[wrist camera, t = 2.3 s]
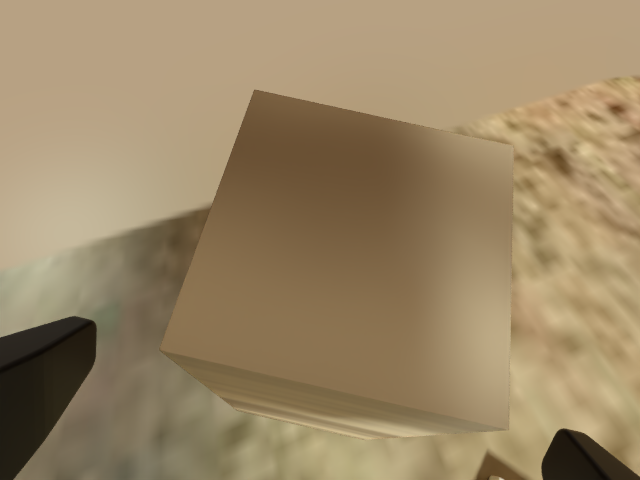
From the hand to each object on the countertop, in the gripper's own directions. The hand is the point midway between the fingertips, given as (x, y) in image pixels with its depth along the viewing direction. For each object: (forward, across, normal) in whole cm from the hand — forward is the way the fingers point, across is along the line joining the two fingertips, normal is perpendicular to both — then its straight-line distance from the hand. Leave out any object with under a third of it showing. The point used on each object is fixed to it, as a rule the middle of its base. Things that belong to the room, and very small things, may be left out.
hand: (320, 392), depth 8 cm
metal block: (+8, 0, +5) cm, 10 cm away
